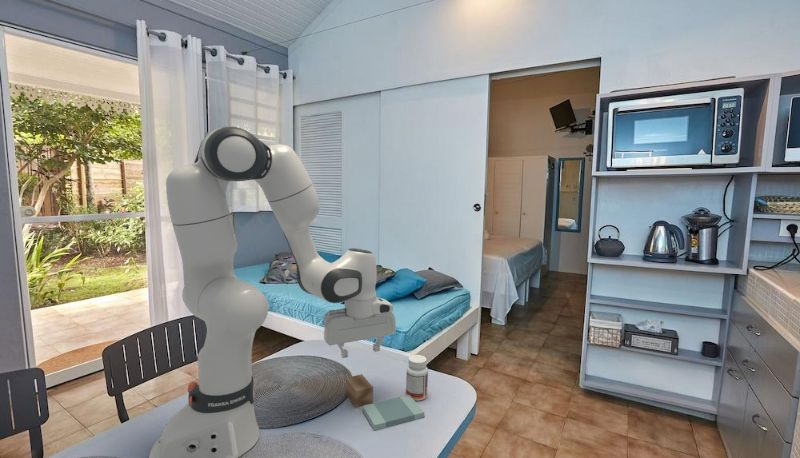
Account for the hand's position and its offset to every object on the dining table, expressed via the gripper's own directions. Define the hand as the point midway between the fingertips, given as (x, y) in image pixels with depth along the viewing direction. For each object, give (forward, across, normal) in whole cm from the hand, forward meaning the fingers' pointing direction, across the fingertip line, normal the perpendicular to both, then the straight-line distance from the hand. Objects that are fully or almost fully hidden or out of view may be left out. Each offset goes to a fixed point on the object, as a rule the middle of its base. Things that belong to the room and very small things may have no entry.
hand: (360, 353), depth 105 cm
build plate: (+13, +5, -11) cm, 18 cm away
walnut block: (+13, -1, 0) cm, 13 cm away
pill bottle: (+14, +15, -5) cm, 21 cm away
